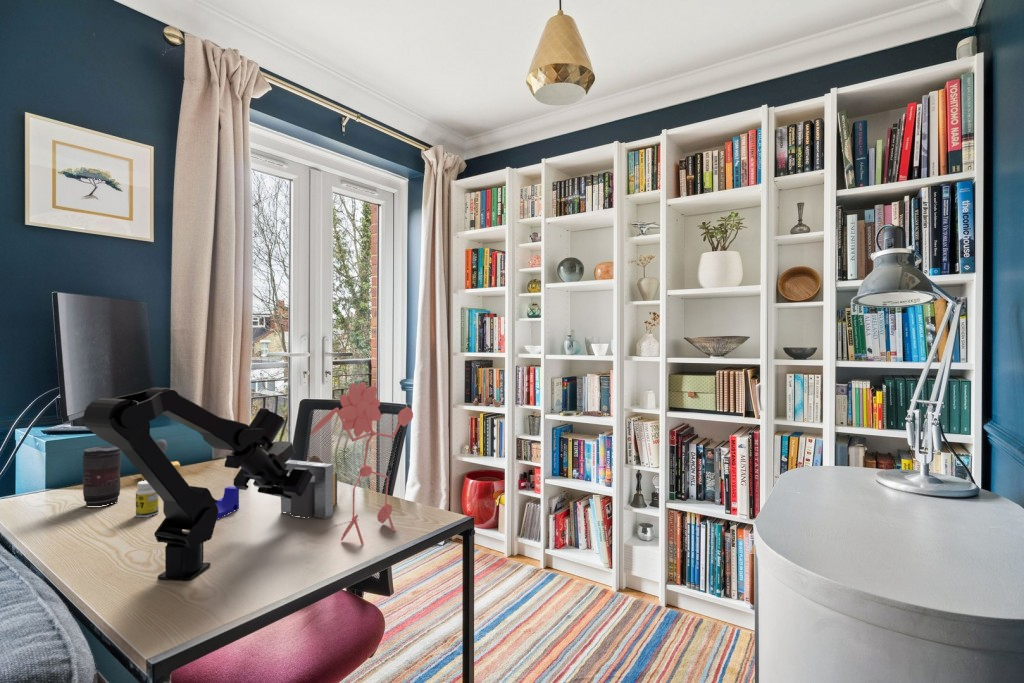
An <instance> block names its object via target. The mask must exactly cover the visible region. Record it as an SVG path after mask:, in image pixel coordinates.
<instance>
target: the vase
mask: <svg viewBox="0 0 1024 683" xmlns="http://www.w3.org/2000/svg"><path fill="white" fill-rule="evenodd" d="M307 462H316V463H324V462H323V461H322V460H321V458H320V456H319V455H311V456H310V457H309V459H308V460H307Z"/></svg>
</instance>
